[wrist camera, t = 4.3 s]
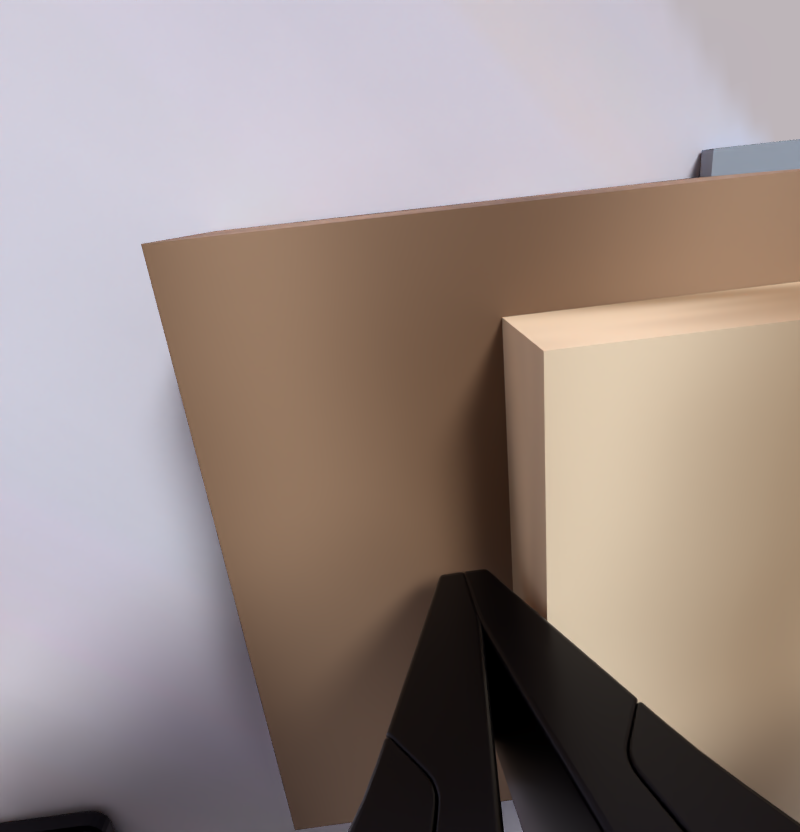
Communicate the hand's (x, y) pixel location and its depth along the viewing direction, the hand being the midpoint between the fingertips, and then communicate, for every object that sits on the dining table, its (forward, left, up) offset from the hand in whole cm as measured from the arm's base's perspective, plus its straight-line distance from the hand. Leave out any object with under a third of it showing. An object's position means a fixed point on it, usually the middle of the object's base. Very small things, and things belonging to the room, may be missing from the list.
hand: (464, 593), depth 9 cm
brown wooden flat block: (+1, 0, -5) cm, 5 cm away
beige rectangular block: (+4, 0, -1) cm, 4 cm away
